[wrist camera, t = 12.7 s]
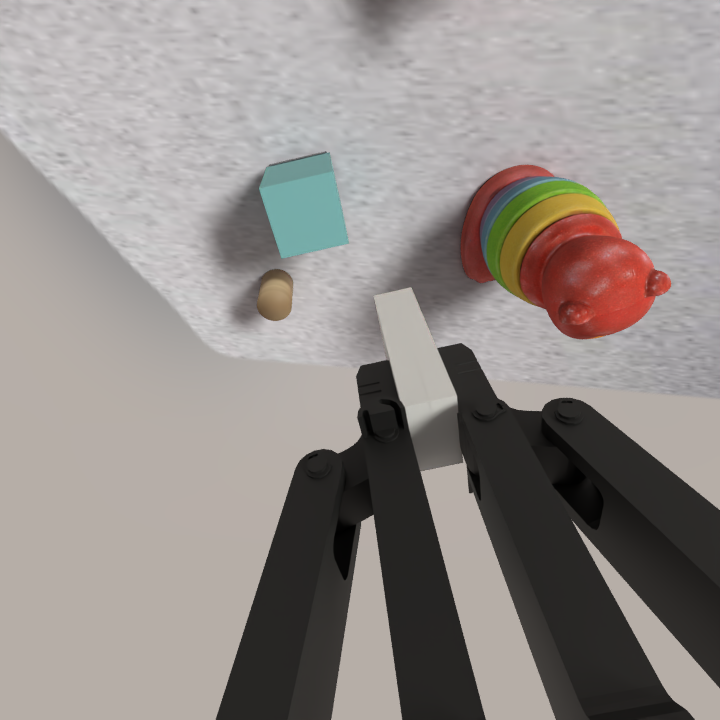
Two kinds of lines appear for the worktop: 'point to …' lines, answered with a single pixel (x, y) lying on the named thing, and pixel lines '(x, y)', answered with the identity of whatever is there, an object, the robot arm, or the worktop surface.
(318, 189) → the teal rectangular prism
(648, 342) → the worktop surface
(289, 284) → the oak stub
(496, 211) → the stacking bear
